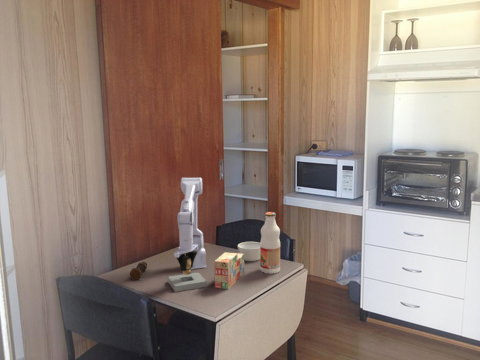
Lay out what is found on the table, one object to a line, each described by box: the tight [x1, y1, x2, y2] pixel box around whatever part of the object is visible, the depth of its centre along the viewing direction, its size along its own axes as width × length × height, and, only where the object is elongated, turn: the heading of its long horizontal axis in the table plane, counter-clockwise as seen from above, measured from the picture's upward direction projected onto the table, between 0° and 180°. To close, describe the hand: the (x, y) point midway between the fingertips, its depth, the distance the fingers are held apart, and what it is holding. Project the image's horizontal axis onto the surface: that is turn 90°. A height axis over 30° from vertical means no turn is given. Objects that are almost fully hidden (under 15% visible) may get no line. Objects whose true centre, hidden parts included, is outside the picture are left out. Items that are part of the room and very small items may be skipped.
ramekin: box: [237, 241, 260, 262], centre depth 225 cm, size 13×13×7 cm
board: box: [167, 272, 208, 293], centre depth 190 cm, size 14×12×2 cm
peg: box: [182, 258, 192, 275], centre depth 189 cm, size 4×4×6 cm
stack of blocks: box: [214, 251, 245, 290], centre depth 194 cm, size 21×6×12 cm, turn 161°
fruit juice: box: [259, 211, 281, 275], centre depth 204 cm, size 9×9×28 cm
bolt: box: [128, 261, 148, 281], centre depth 203 cm, size 6×5×15 cm
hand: (186, 268), depth 189 cm, fingers closed on peg, 4 cm apart
